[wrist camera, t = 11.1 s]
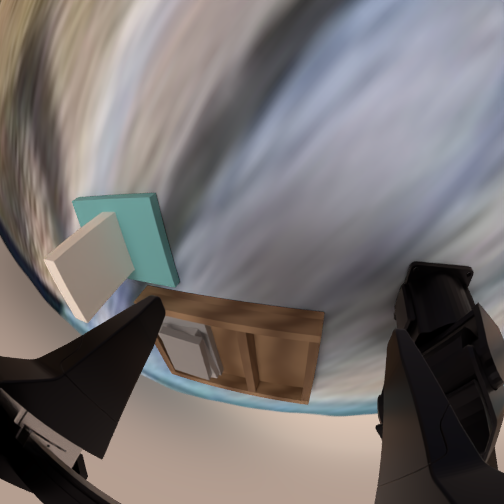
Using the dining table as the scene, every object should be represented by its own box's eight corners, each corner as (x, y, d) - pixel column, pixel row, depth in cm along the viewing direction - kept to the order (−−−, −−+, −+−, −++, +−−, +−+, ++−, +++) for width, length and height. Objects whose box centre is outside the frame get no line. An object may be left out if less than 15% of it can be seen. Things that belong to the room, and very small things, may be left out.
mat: (155, 192, 22) (149, 197, 22) (179, 281, 28) (175, 287, 27) (77, 197, 26) (72, 201, 25) (104, 267, 31) (99, 272, 30)
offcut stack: (207, 315, 28) (196, 336, 26) (223, 369, 34) (216, 387, 32) (158, 305, 30) (145, 323, 28) (182, 358, 36) (173, 374, 34)
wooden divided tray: (324, 311, 25) (321, 336, 22) (311, 385, 33) (308, 404, 30) (147, 285, 30) (133, 302, 28) (180, 358, 38) (172, 373, 36)
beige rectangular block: (115, 211, 24) (53, 261, 17) (134, 269, 28) (87, 323, 21) (102, 211, 24) (43, 258, 18) (122, 267, 28) (75, 317, 22)
